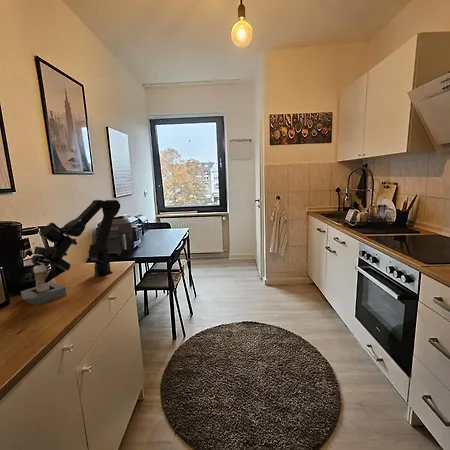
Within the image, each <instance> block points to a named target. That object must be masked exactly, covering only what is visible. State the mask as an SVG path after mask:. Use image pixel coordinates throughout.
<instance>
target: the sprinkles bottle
mask: <svg viewBox="0 0 450 450" xmlns="http://www.w3.org/2000/svg"><path fill="white" fill-rule="evenodd" d="M33 270H34V273H35V279H34V281H35V287H36V288H37V293H38V294H40V293H43V292H46V291H49V283H50V282H47V283H45V282H44V281H45V279H46V277H47V275H48V271H47V270H48V266H46V265H40V266H36V267H34V266H33V268H32V271H33Z"/></svg>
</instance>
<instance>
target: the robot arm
mask: <svg viewBox="0 0 450 450" xmlns="http://www.w3.org/2000/svg"><path fill="white" fill-rule="evenodd" d="M120 208H121V203H120V201H119V200H118V199H106V200H102V199H94V200H92V202H91V203H90V204H89V205H88V206H87V207H86V209H84V210H83V211H82V213H80V214H79V215H78V216H77V217H76V218H75V219H72V220H70V221H68V222H67V223H65V224H64V225H63V226H62V227H59V226H58V225H57V224H56V223H55V222H49V224H47V225H46V226H44V227H42V228H41V230H40V232H39V234H40V236H41V237H43V238H44V239H46V240H47V241H48V242H50V243H54V244H53V246H50V245H46V246H45V247H44V246H43V247H42V246H35V247H34V251H33V256H32V257H31V258H30V260H31V263H32V264H33V268H34V267H36V266H40V265H46V267H48V266H49V265H50V269H49V272H47V277H46V279H45V281H44V282H45V283H47V282H48V283H50V281H52V280H54V278H57V277H58V276H60V275H61V274H63V273H66V272H68V271H69V270H70V269H71V263H69V262H68V261H66V260H65V259H63V258H64V257H67V256H68V253H67V252H68V251H69V250H70V247H72V245H74V246H78V242H77V239H76V238H72V237H80V236H81V235H83V232H84V231H85V229H86V226H87V224H88V223H89V221H91V220H92V219H93V218H94V216H95V215H96V214H97V213H98V212H99V211H102V214H103V215H102V220H101V223H100V227H99V231H98V234H97V237H96V241H95V243H94V244H90V245H89V250H88V251H87V254H88V257H89V259H90V260H91V262H92V263H93V264H94V275H95V276H98V277H104V276H107V275H110V274H112V273H113V271H111V264H110V263H111V262H112V261H113V257H112V256H111V255H109V254H108V251H109V249H108V246H107V244H108V240H109V235H110V232H111V229H112V225H113V222H114V218H115V217H116V216H117V215H118V213H119V211H120V210H121V209H120ZM30 280H32V281H35V273H34V270H33V269H32V273H31V277H30Z"/></svg>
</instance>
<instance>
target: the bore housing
mask: <svg viewBox="0 0 450 450" xmlns="http://www.w3.org/2000/svg"><path fill="white" fill-rule="evenodd" d="M48 283H49V291H46V292H43V293H40V294H38V293H37V288H36V286H34V287H31V288H27V289H24V290H21V291H20V294H21V300H22V299H23V301H24V300H25V301H24V302H26V303H27V304H30V305H32V306H34V307H37V306H40V305H42V304H45V303H48V302H52V301H53V300H56V299H59V298H63V297H65V296H67V289H66V287H65V286H63V285H60V284H57V283H55V282H53V281H51V282H50V281H49V282H48Z"/></svg>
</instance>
